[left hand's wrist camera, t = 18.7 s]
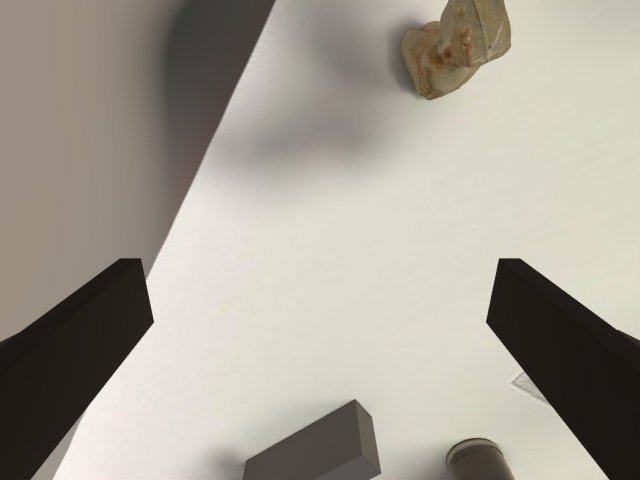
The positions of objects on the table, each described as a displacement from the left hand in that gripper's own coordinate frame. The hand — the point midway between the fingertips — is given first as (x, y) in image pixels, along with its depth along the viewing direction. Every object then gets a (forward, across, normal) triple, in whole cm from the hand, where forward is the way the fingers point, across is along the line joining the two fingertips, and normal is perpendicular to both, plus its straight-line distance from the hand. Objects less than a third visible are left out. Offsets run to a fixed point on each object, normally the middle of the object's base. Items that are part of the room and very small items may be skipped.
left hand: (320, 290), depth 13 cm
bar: (+31, -2, -46) cm, 55 cm away
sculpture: (+31, +12, +11) cm, 35 cm away
